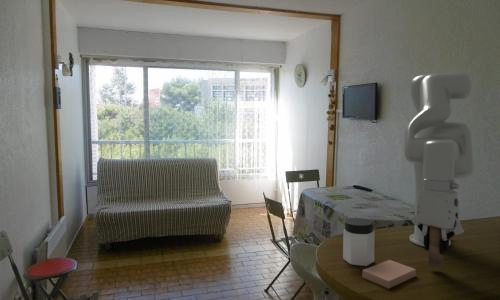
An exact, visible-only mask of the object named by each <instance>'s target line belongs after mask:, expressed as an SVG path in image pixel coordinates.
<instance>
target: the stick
mask: <svg viewBox="0 0 500 300" xmlns="http://www.w3.org/2000/svg"><path fill="white" fill-rule="evenodd" d="M441 239H442V232H441V228H437V227H434V226H430V229H429V250H428V266H429V267H432V268H435V269H440V268H443V256H444V254H443V255H442V254H440V240H441Z"/></svg>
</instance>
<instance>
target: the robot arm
mask: <svg viewBox="0 0 500 300" xmlns="http://www.w3.org/2000/svg"><path fill="white" fill-rule="evenodd" d="M471 91H472V81H471V79H470V76H469V74H468V73H467V72H461V71H460V72H459V71H458V72H445V73H442V72H441V73H438V72H437V73H425V74H421V75H418V76H415V77H414V78H413V79H412V80H411V83H410V96H411V101H412V103H413V106H414V108H415V110H416V113H417V114H416V115H415V116H414V117H413V118H412V119H411V120H410V121H409V123H408V125H407V126H406V129H405V132H404V142H403V144H404V145H403V146H404V147H403V148H404V149H403V150H404V151H403V152H404V157H405V160H406V161H408V162H409V163H410V164H413V170H414V172H413V173H414V180H415V181H414V182H415V183H414V185H415V198H414V199H415V202H414V203H415V204H414V217H413V219H412V220H411V223H412V224H413V225H414V232H413V233H412V234H410V235H409V241H410V242H411V243H412V244H415V245H417V246H420V247H424V251H429V229H430V226H434V227H437V228H441V232H442V239H441V240H440V254H442V255H443V256H444V255H445V254H446V253H447V252H449V250H450V246H451V240H450V239H451V238H454V237H455V236H458V235H461V234H463V233H464V232H465V230H464V228H463V227H462V224H461V213H460V210H461V209H460V202H459V196H458V192H457V191H455V190H456V189H457V190H459V188H460V184H459V183H456V181H455V180H460V181H461V180H462V181H463V180H468V179H470V178H471V177H472V176H473V172H474V155H473V154H474V153H473V143H472V133H471V128H470V127H469V126H468V124H467V123H465V122H459V121H457V122H455V121H453V122H452V121H451V122H450V121H448V122H447V120H448V119H449V118H450V116H451V113H452V112H451V111H452V110H451V109H452V108H451V100H464V99H465V100H466V99H467V98H468V97H470V95H471ZM415 135H418V137H415ZM452 229H453V230H452Z"/></svg>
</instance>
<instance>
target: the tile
mask: <svg viewBox="0 0 500 300" xmlns="http://www.w3.org/2000/svg"><path fill="white" fill-rule="evenodd" d="M361 276H362V278H363V279H364V280H368V281H369V282H371V283H372V282H373V283H374V284H376V285H377V284H378V285H380V286H381V287H384V288H385V289H390V288H393V287H395V286H397V285H400V284H402V283H403V282H406V281H408V280H411V279H413V278H416V268H414V267H411V266H408V265H405V264H402V263H400V262H397V261H393V260H391V259H388V260H385V261H382V262H380V263H377V264H375V265H373V266H371V267H367V268H364V269H362V273H361Z"/></svg>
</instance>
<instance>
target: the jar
mask: <svg viewBox="0 0 500 300" xmlns="http://www.w3.org/2000/svg"><path fill="white" fill-rule="evenodd" d="M374 226H375V225H374V222H373V221H372V220H370V219H367V218H362V217H361V218H360V217H349V218H346V219H345V221H344V229H343V230H342V231H343V235H342V236H343V237H342V244H343V245H342V247H343V250H342V259H343V261H346V262H347V263H348V264H349V265H351V266H353V265H354V266H364V267H367V266H369V265H371V264H372V263H374V262H375V236H376V235H375V234H376V233H375V232H376V231H375V230H374Z"/></svg>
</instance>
